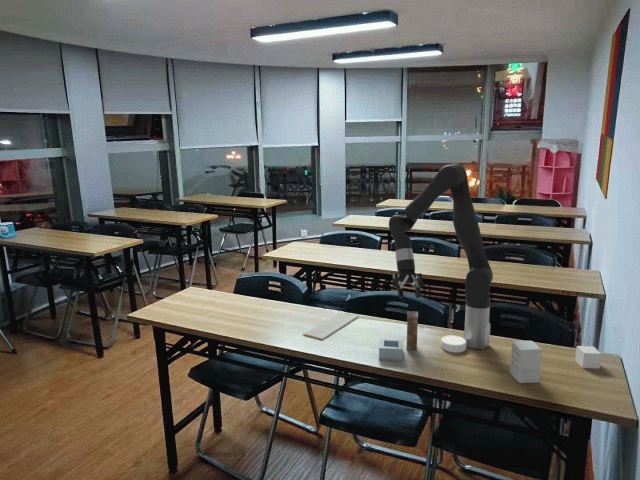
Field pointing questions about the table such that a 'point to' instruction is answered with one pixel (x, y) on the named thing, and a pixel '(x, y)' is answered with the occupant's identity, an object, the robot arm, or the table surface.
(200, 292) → the table surface
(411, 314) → the rail post
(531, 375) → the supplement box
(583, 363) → the white cube
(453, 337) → the white round disc
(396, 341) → the grey square collar
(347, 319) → the baseboard
